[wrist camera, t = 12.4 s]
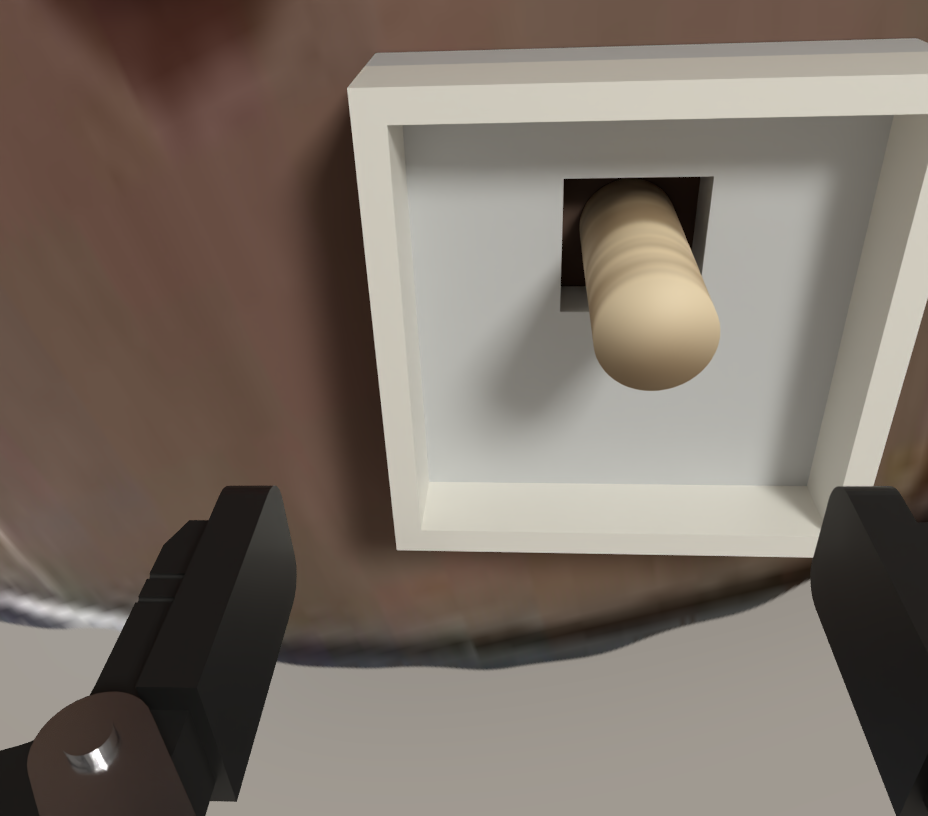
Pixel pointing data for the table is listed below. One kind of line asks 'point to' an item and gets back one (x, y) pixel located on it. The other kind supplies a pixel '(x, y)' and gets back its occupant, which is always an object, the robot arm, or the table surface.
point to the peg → (644, 289)
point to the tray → (566, 307)
